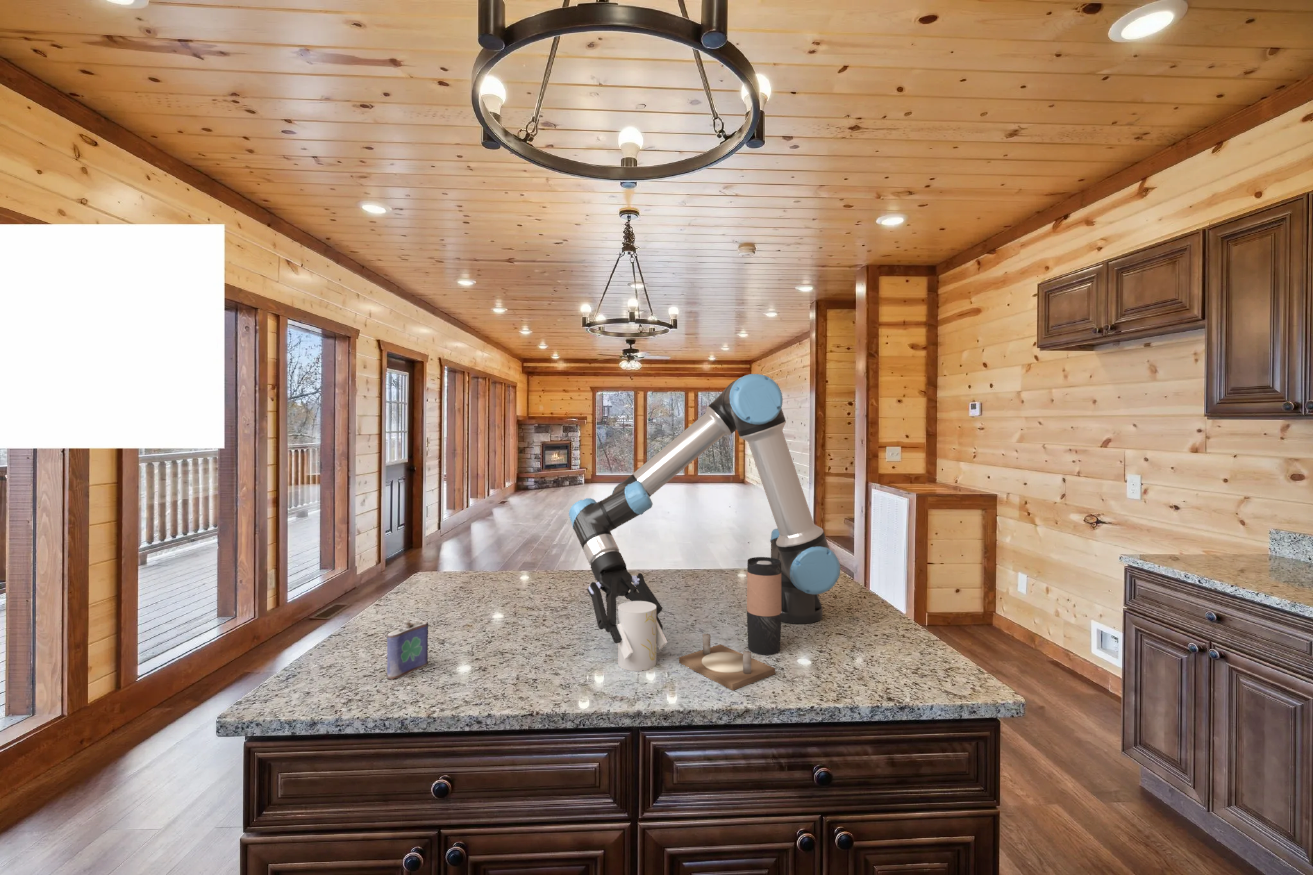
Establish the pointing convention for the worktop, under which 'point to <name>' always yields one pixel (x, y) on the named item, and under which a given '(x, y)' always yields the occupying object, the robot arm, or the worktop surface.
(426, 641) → the flask
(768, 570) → the travel mug
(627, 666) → the cup
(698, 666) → the tray
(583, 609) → the worktop surface
